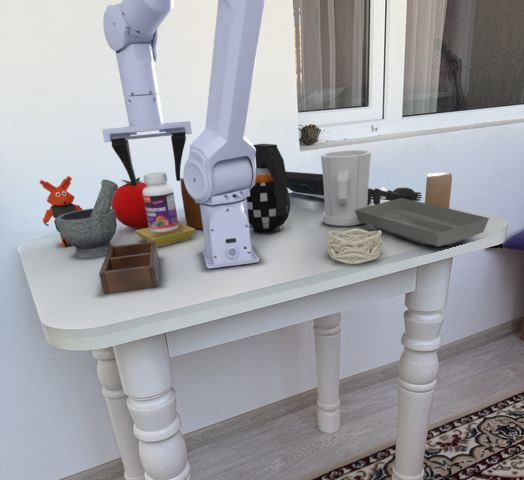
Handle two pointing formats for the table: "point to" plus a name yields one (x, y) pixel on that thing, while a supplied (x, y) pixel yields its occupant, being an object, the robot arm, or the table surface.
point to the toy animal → (59, 203)
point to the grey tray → (422, 221)
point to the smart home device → (305, 183)
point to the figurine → (392, 194)
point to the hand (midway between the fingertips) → (156, 182)
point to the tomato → (130, 205)
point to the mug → (191, 209)
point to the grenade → (268, 191)
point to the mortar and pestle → (91, 225)
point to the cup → (345, 186)
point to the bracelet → (343, 243)
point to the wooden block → (438, 189)
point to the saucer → (167, 235)
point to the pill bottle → (159, 203)
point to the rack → (130, 267)
